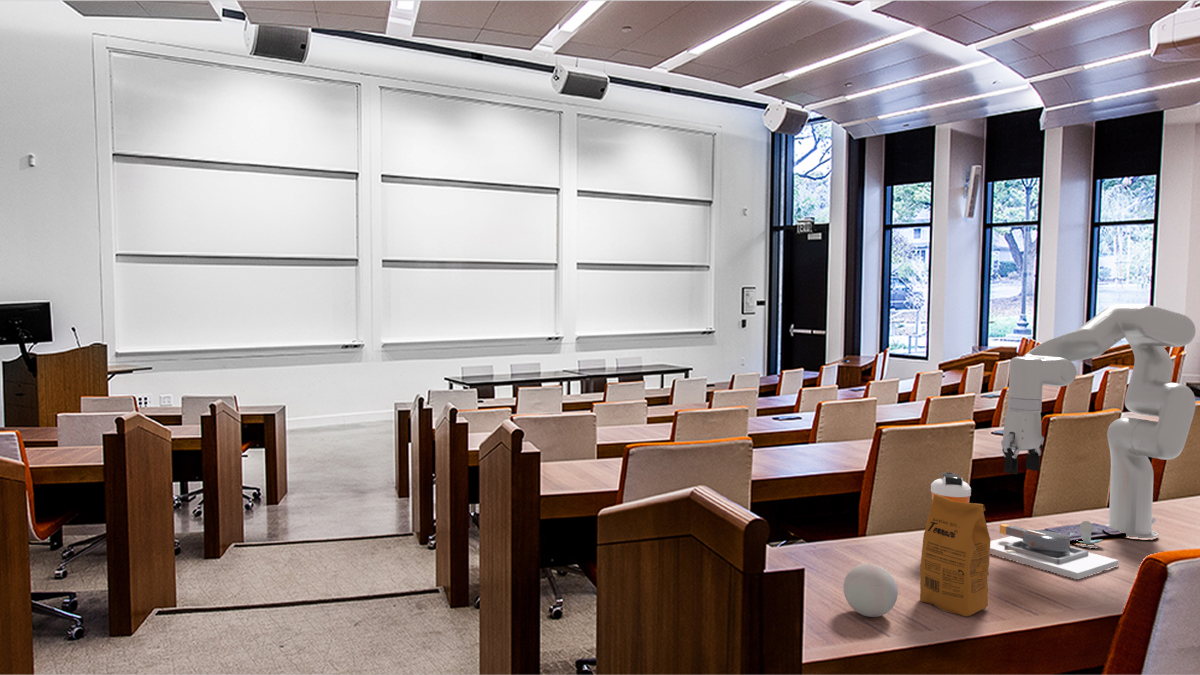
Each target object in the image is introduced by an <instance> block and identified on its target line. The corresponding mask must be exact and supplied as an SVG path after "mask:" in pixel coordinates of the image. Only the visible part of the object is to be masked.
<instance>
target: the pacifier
mask: <svg viewBox="0 0 1200 675" xmlns="http://www.w3.org/2000/svg"><path fill="white" fill-rule="evenodd" d="M1079 530H1080V532H1081V537H1082V540H1083V541H1078V540H1076V541H1078V542H1080V543H1082V544H1086V545H1081V544H1078V543H1076V544H1077V545H1080V546H1084V547H1092V548H1095V549H1097V548H1098V545H1096V544H1099V543H1102V541H1103V540H1104V539H1094V540H1093V539H1092V533H1093V531H1094V526H1093V524H1092V522H1091V521H1089V520H1083V521H1082V522H1081V523H1080V525H1079ZM1073 534H1076V533H1074V532H1070V533H1069V536H1070V537H1071V535H1073ZM1088 545H1094V546H1088ZM1096 547H1097V548H1096Z"/></svg>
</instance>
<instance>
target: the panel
mask: <svg viewBox="0 0 1200 675" xmlns="http://www.w3.org/2000/svg"><path fill="white" fill-rule="evenodd" d="M1022 548H1023V539H1021V538H1017V537H1013V536H1010V535H1008V536H1007V537H1001V538H998V539H992V540H990V551H989V555H990V554H992V555H991V556H994V555H996V556H995V557H997V556H1000V557H999V558H1001V557H1004V558H1007V559H1011V560H1014V561H1018V562H1020V563H1019V564H1021V563H1023V564H1022V565H1024V564H1027V565H1026V566H1028V565H1030V566H1029V567H1031V566H1033V567H1032V568H1035V567H1037V568H1036V569H1038V568H1040V569H1039V570H1041V569H1044V570H1043V571H1045V570H1047V571H1046V572H1048V571H1051V572H1050V573H1052V572H1054V573H1053V574H1055V573H1057V574H1056V575H1059V574H1061V575H1060V576H1062V575H1065V576H1068V577H1067V578H1069V577H1071V578H1070V579H1072V578H1075V579H1074V580H1076V579H1080V578H1083V577H1086V576H1089V575H1091V574H1094V573H1097V572H1100V571H1103V570H1105V569H1108V568H1111V567H1114V566H1117V565H1118V566H1119V563H1120V562H1119V559H1115V558H1111V557H1108V556H1104V555H1100V554H1096V553H1092V552H1089V550H1085V549H1082V548H1077V547H1074V546H1070V555H1067V556H1064V557H1060V558H1054V557H1051V556H1047V555H1043V554H1040V553H1036V552H1032V551H1029V550H1025V549H1022ZM1004 558H1003V559H1004ZM1007 559H1006V560H1007ZM1011 560H1010V561H1011ZM1014 561H1013V562H1014ZM1018 562H1017V563H1018ZM1065 576H1064V577H1065ZM1089 577H1090V576H1089ZM1086 578H1087V577H1086ZM1083 579H1084V578H1083ZM1080 580H1081V579H1080Z"/></svg>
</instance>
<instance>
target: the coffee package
mask: <svg viewBox="0 0 1200 675" xmlns="http://www.w3.org/2000/svg"><path fill="white" fill-rule="evenodd" d="M985 511H986V507H985V504H982V503H976V502H975V503H973V502H969V503H963V502H953V501H951V500H949V499H947V498H945V497H943V496H940V495H938V494H935V495H934V497H933V501H931V504H930V507H929V511H928V517H927V521H926V526H925V529H924V532H923V539H922V548H921V557H920V567H919V573H920V575H919V576H920V582H919V584H920V585H919V586H920V587H919V589H920V590H919V591H920V592H919V593H920V596H919V601H920V602H922V603H927V604H931V605H934V606H936V607H937V608H938V609H939V610H941V611H943V612H946V613H949V614H955V615H959V616H963V617H970V616H972V615H974V614H976V613H978V612H979V611H982V610H985V609H987V608H988V607H989V593H988V592H989V585H988V581H989V580H988V579H989V574H990V572H989V570H990V569H989V568H990V556H991V555H990V554H989V551H990V541H991V537H990V533H989V528H988V523H987V522H986V517H985V514H984V512H985Z"/></svg>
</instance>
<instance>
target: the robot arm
mask: <svg viewBox="0 0 1200 675" xmlns="http://www.w3.org/2000/svg"><path fill="white" fill-rule="evenodd" d="M1195 335H1196V326H1195V323H1194V322H1193V320H1192V319H1191V318H1190V317H1189V316H1186V315H1185V314H1183V313H1179V312H1175V311H1172V310H1169V309H1165V308H1161V307H1159V306H1154V305H1150V304H1149V305H1148V304H1115V305H1114V304H1113V305H1110V306H1107V307H1106V308H1105V309H1103V310H1102V311H1100V312H1099V313H1098V314H1096V315H1095V316H1093V317H1092V318H1090V320H1088V321H1087V322H1085V323H1084V324H1083V325H1081V326H1080V327H1079V328H1077V329H1075V330H1073V331H1071V332H1067V333H1065V334H1061V335H1059V336H1057V337H1054V338H1050V339H1048V340H1046V341H1044V342H1042V343H1040V344H1038V345H1036V346H1035V347H1033V348H1031V349H1030V350H1029V351H1028V352H1027V353H1024V355H1023V356H1015V357H1012V358H1011V359H1010V362H1009V374H1008V375H1009V377H1008V378H1009V379H1008V399H1007V400H1008V402H1007V411H1006V413H1005V417H1004V425H1003V433H1002V434H1003V435H1002V440H1000V441H1001V442H1000V443H1001V447H1002V449H1001V450H1002V453H1003V457H1004V463H1003V464H1004V466H1003V472H1004V473H1006V474H1012V475H1017V474H1018V469H1019V458H1017V457H1018V456H1019V453H1020V451H1027V453H1026V458H1025V469H1026V470H1028V471H1033V472H1039V471H1040V461H1041V460H1040V459H1041V455H1042V449H1043V447H1044V446H1043V444H1044V440H1045V437H1044V436H1043V435H1042V415H1041V413H1042V404H1043V403H1042V402H1043V386H1050V387H1065V386H1069V385H1070V384H1071V383H1072V382H1074V380H1075V379H1076V377H1077V367H1076V366H1075V364H1074V363H1073V362H1077V361H1083V360H1089V359H1093V358H1096V357H1099V356H1102V355H1103V354H1104V353H1105V352H1107V351H1108V350H1109V349H1111V348H1112V347H1113V346H1115V345H1116V344H1117V343H1119V342H1121V341H1122V339H1124V338H1125V339H1126V342H1127V343H1128V345H1129V346H1130V348H1131V350H1132V353H1133V355H1134V356H1133V357H1134V364H1133V368H1132V371H1131V376H1130V379H1129V382H1128V386H1127V388H1126V393H1125V396H1124V406H1125V408H1126V409H1127V410H1128V411H1129V412H1131V413H1133V414H1137V415H1141V416H1148V417H1154V418H1158V419H1157V420H1158V421H1155V420H1149V419H1143V418H1135V417H1120V418H1117V419H1115V420H1114V421H1112V422H1111V423H1110V425H1109V426H1108V428H1107V432H1106V433H1107V437H1106V438H1107V443H1108V447H1109V452H1110V477H1109V478H1110V479H1109V480H1110V483H1109V484H1110V485H1109V512H1108V514H1109V515H1108V523H1106V524H1104V525H1106V526H1109V527H1110V528H1112V529H1115V530H1118V531H1121V532H1124V533H1126V536H1129V537H1138V538H1153V537H1157V536H1158V537H1159V535H1158V534H1159V533H1158V532H1157V531H1155V530H1153V529H1152V526H1153V525H1154V524H1156V522H1157V521H1156V518H1155V517H1153V504H1154V502H1153V500H1154V499H1153V498H1154V495H1153V494H1154V469H1153V465H1152V463H1151V461H1150V459H1149V458H1154V459H1159V460H1164V461H1165V460H1173V459H1177V457H1179V456H1180V454H1181V453H1183V450H1184V447H1185V444H1186V442H1187V439H1188V436H1189V433H1190V429H1191V424H1192V422H1193V418H1194V415H1195V411H1196V404H1197V403H1196V402H1197V401H1196V397H1195V394H1194V391H1192V389H1191V388H1190V387H1189V386H1187V385H1185V384H1182V383H1179V382H1170V380H1171V376H1172V372H1173V369H1174V368H1173V367H1174V366H1173V361H1172V358H1171V356H1170V354H1169V353H1168V351H1167V350H1166V348H1165V347H1171V348H1180V347H1185V346H1187V345H1188V344H1190V343H1191V342H1193V340H1194V338H1195Z"/></svg>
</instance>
